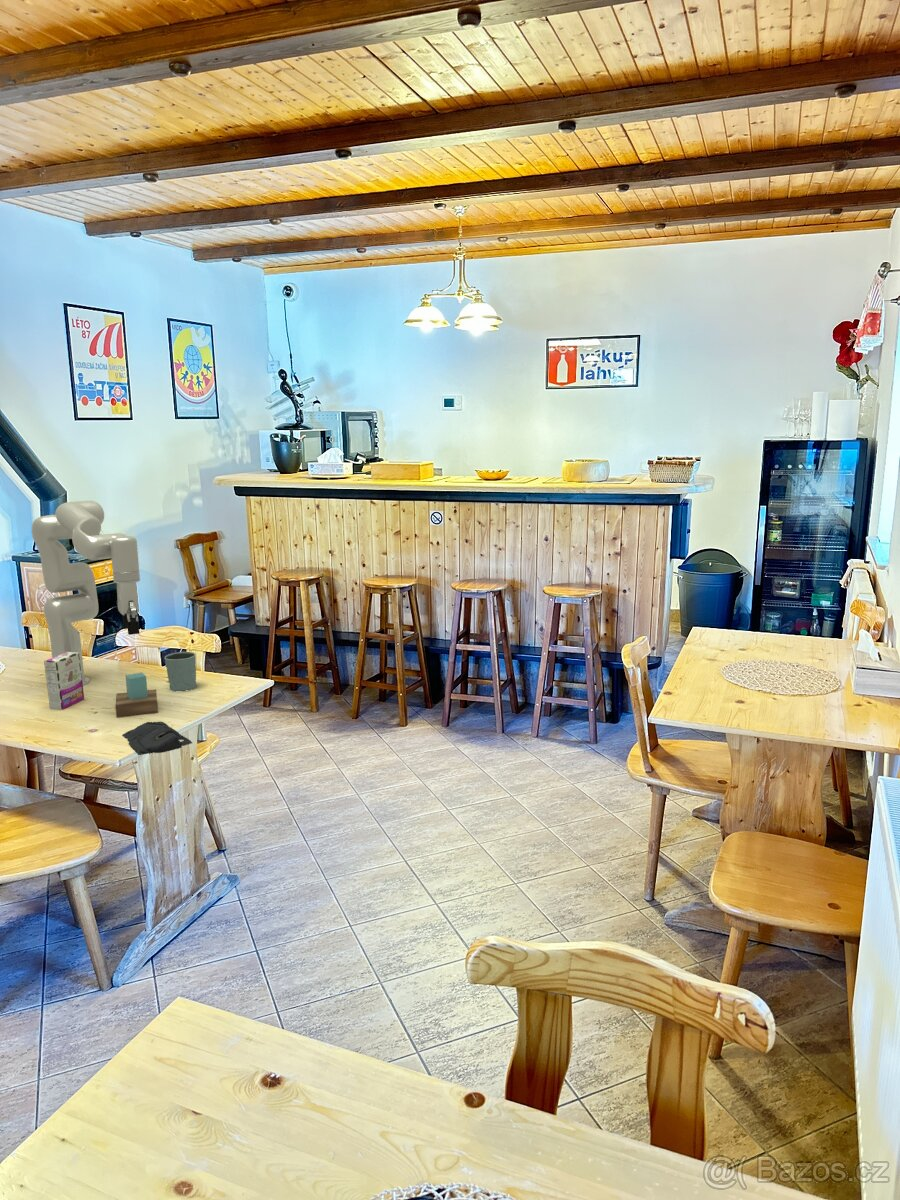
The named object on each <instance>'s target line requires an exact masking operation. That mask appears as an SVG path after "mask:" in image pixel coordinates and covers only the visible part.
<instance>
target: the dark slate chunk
mask: <svg viewBox="0 0 900 1200" xmlns="http://www.w3.org/2000/svg"><path fill="white" fill-rule="evenodd" d="M121 737H123V738H124V739H126V740H127V742H128V743H127V744H128V746H129V747H130V748H131V749H132V750H133V751H134V752H135V753H136V754H137V756H142V755H149V754H162V753H167V752H170V751H174V750H179V749H181V748H183V747H184V746H188V745H190V744H193V742H192V740H191V739H189V738H188V737H185V736H184V735H183V734H180V732H179V731H178V730H175V729H174V728H173V727H171V726H169V724H167V723H166V722H164V721H146V722H144V723H142V724H139V725H138V726H136V727H135V728H134V729H131V730H128V731H126V732H125V733H122V735H121Z"/></svg>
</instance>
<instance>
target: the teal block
mask: <svg viewBox="0 0 900 1200" xmlns="http://www.w3.org/2000/svg"><path fill="white" fill-rule="evenodd" d="M125 682H126V683H125V684H126V692H127V696H128V697H129V699H130V700H136V699H142V698H147V697H148V693H147V690H148V685H147V684H148V683H147V675H145V674H144V673H143V672H136V673H132V674H130V673H129V674H125Z"/></svg>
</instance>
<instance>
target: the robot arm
mask: <svg viewBox="0 0 900 1200" xmlns="http://www.w3.org/2000/svg"><path fill="white" fill-rule="evenodd" d="M104 520H105V511H104V509H103V507H102V505H101V504H100V503H99V502H98V501H95V500H81V501H79V500H78V501H67V502H64V503H62V504H60V505H59V506H58V507H57V508H56V509H55V514H49V515H42V516H38V517H37V518H35V519H34V520H33V521H32V524H31V534H32V539H33V541H34V543H35V546H36V548H37V550H38V552H39V557H40V564H41V569H42V576H43V583H44V586H45V589H46V590H47V591H48V592H49V593H53V594H54V593H55V594H58V593H67V592H72V591H78V593H75V594H74V593H73V594H68V595H66V594H65V595H61V596H56V597H52V598H50V599H48V600H46V601H45V603H44V605H43V614H44V617H45V621H46V624H47V627H48V629H47V630H48V634H49V642H50V643H49V644H50V649H51V650H50V651H51V658H53V657H55V656H58V655H60V654H63V653H65V652H79V658H80V666H81V676H82V683H83V687H85V686H86V685H89V683H90V678H89V677H87V676H85V670H84V662H83V660H84V659H83V653H82V652H83V650H82V643H81V642H82V641H81V634H80V632H79V631H78V629H76V628H75V626H73V624H74V623H76V622H82V621H86V620H92V619H94V618H96V617H97V615H98V614H99V599H98V593H97V585H96V580H95V575H94V571H93V569H92V568H91V566H90V565H89V564H88V563H86V562H82V561H79V562H71V563H70V560H69V553H68V550H67V548H66V547H65V546H64V545H63V544H62V542H60V541H59V540H72V545H73V547H74V549H75V551H76V552H77V553H78V554H79V555H80V556H81V557H83V558H85V559H87V560H90V561H98V560H99V561H100V560H107V559H111V567H112V574H113V575H112V576H113V578H112V579H113V583H115V584H116V593H117V595H116V596H117V597H116V598H117V611H118V612H119V613H120V614H121V615H122V616H121V620H122V628H123V629H127V634H128V635H129V636H132V635H138V634H140V624H139V619H138V618H139V617H138V613H139V607H140V606H139V595H138V585H137V582H140V581H141V576H140V564H139V563H140V561H139V551H138V550H139V549H138V542H137V541H138V540H137V538H136V537H135V536H132V535H126V534H124V533H121V532H118V533H105V534H100V533H101V530H102V524H103V522H104Z"/></svg>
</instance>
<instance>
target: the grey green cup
mask: <svg viewBox="0 0 900 1200" xmlns="http://www.w3.org/2000/svg"><path fill="white" fill-rule="evenodd" d="M196 659H197V657H196V653H195V652H192V651H178V652H171V653H169V654H167V655H165V656H164V662H165V667H166V672H167V673H166V674H167V677H168V678H167V679H168V685H169V689H170V691H171V690H172V692H176V691H182V692H187V691H186V690H189V691H192V690H194V689H196V688H197V666H196V665H197V664H196V663H197V662H196V661H197V660H196ZM191 689H192V690H191Z"/></svg>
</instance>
